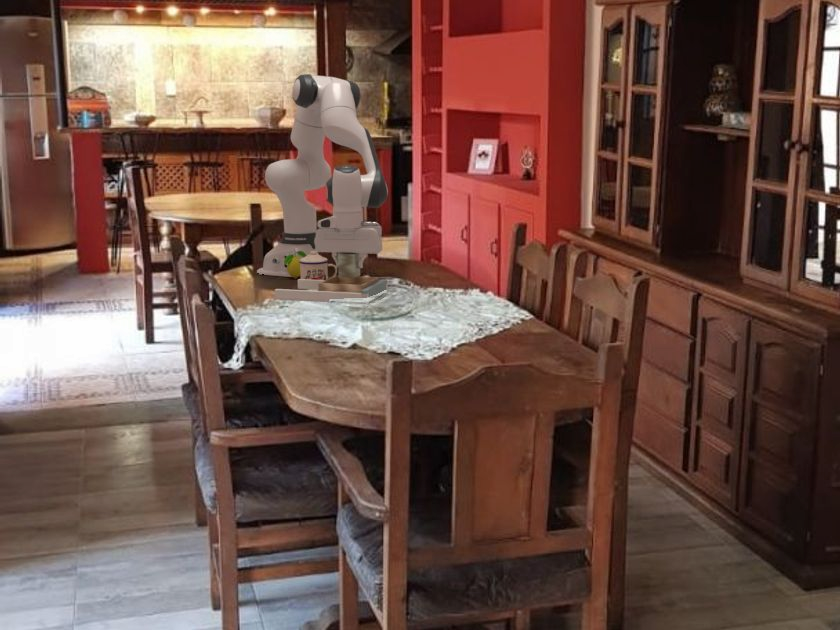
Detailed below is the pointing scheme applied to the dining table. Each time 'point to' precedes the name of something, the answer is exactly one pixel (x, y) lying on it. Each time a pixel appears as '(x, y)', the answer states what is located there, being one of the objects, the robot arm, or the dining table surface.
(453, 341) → the dining table surface
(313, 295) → the bay
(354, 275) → the block
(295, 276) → the lemon
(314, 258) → the teacup with lid
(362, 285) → the crate
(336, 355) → the dining table surface
